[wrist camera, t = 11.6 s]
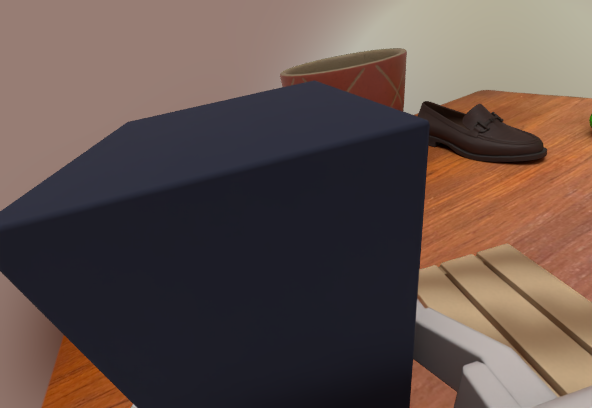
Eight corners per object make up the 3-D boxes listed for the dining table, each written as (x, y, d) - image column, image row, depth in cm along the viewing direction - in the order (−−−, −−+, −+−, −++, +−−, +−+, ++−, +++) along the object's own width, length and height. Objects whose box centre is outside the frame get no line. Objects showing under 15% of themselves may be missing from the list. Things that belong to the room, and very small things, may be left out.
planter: (388, 208, 49) (386, 64, 37) (282, 194, 61) (255, 80, 49) (413, 156, 65) (418, 42, 53) (325, 152, 77) (313, 59, 65)
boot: (408, 518, 12) (456, 120, 3) (283, 566, 11) (-75, 252, 3) (318, 282, 24) (276, 64, 15) (255, 300, 23) (175, 86, 15)
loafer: (403, 143, 73) (404, 105, 68) (428, 131, 76) (431, 95, 71) (528, 172, 51) (542, 120, 46) (554, 154, 55) (571, 104, 50)
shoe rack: (828, 526, 16) (894, 506, 14) (616, 619, 15) (652, 613, 13) (503, 266, 35) (510, 242, 33) (399, 298, 33) (399, 275, 31)
